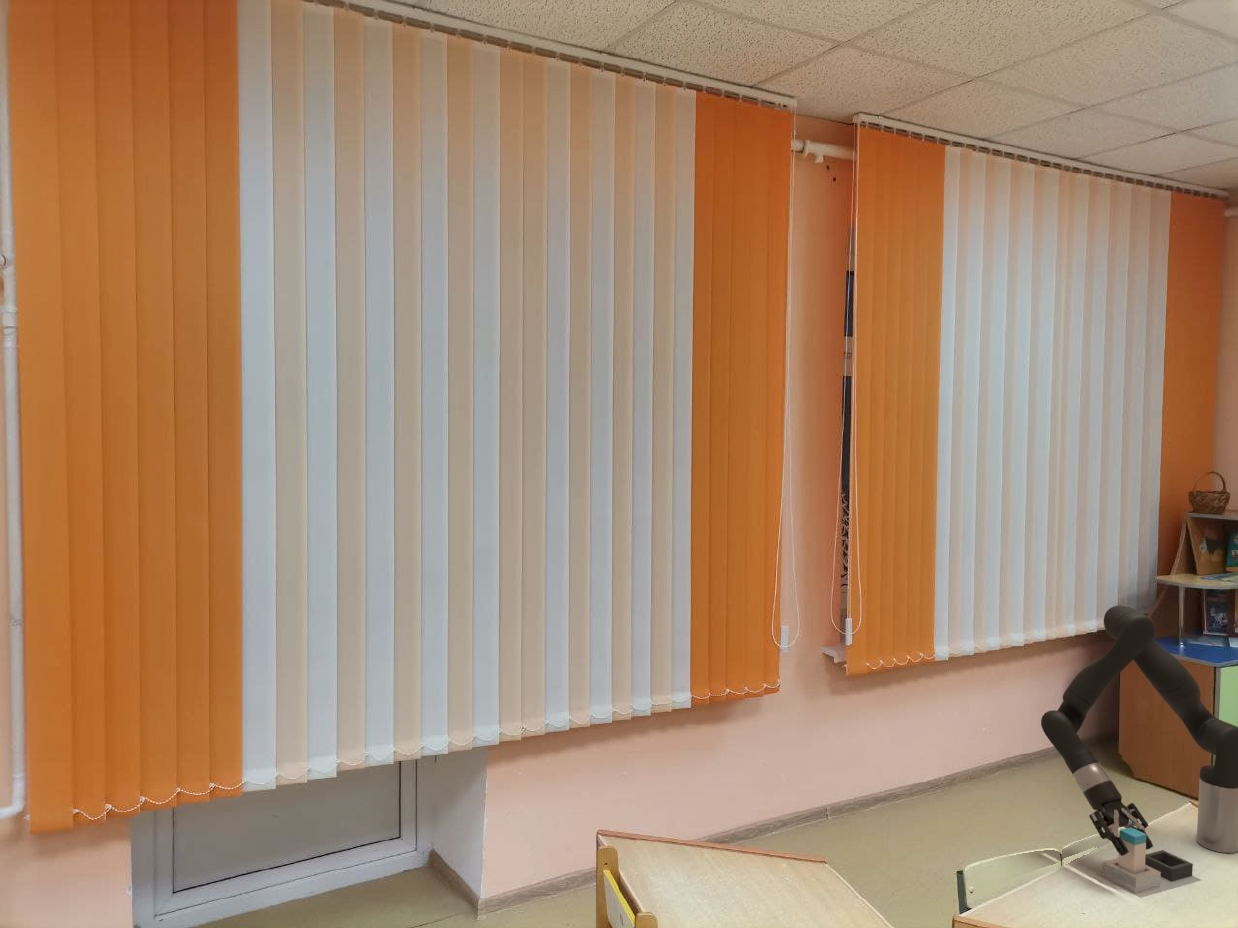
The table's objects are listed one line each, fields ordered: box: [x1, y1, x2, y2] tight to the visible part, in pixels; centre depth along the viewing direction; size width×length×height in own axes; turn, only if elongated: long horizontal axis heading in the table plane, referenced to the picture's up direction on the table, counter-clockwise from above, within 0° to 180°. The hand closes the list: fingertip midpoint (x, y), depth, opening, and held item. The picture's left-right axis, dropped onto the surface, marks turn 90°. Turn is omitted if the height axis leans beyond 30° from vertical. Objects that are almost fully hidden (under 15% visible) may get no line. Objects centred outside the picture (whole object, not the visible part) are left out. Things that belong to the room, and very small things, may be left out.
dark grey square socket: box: [1145, 849, 1194, 882], centre depth 218 cm, size 8×8×3 cm
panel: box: [1094, 870, 1202, 899], centre depth 215 cm, size 22×12×1 cm, turn 114°
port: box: [1102, 857, 1161, 893], centre depth 213 cm, size 9×9×4 cm
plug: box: [1117, 827, 1147, 875], centre depth 213 cm, size 4×4×12 cm
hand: (1137, 851), depth 211 cm, fingers open, 8 cm apart
